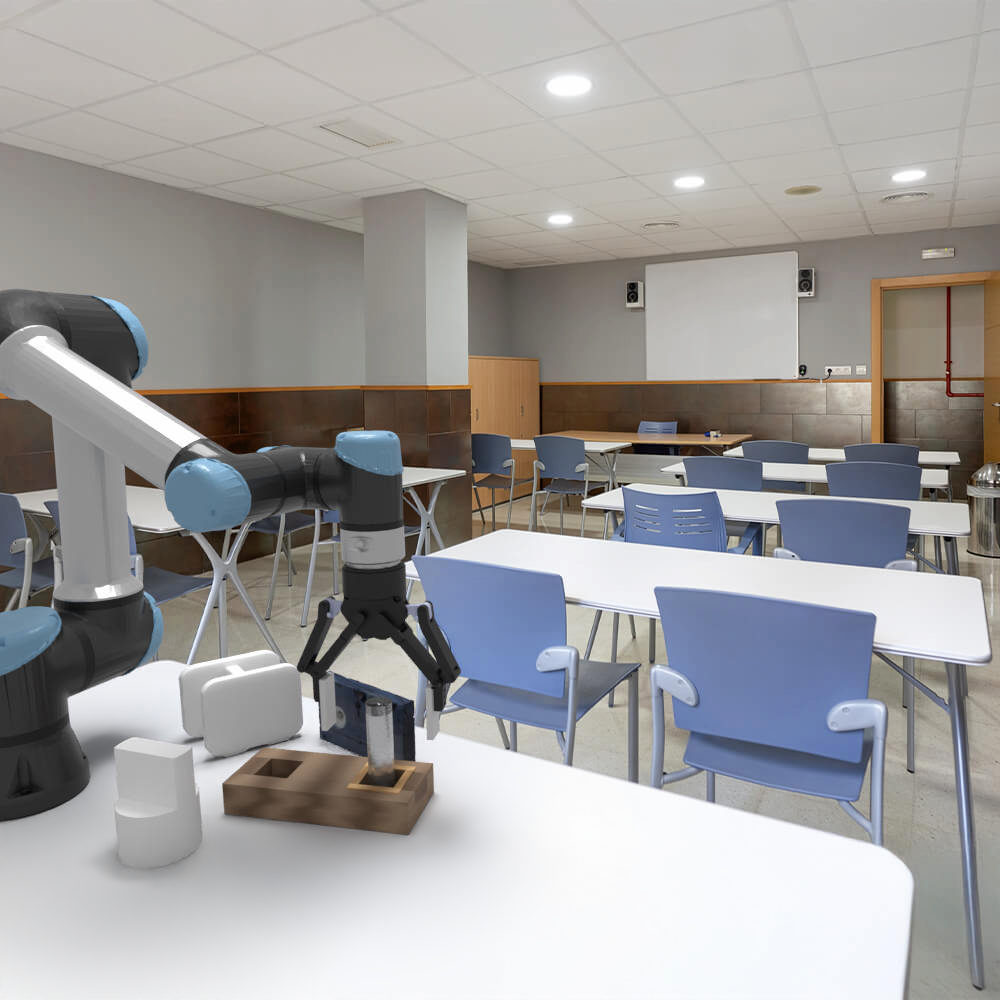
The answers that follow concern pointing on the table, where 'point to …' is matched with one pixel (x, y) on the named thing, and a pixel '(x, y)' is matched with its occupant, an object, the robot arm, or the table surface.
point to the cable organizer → (241, 702)
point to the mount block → (327, 791)
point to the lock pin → (380, 742)
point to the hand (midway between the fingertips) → (380, 731)
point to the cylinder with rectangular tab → (156, 803)
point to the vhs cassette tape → (353, 719)
